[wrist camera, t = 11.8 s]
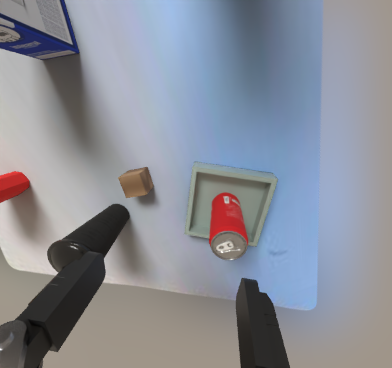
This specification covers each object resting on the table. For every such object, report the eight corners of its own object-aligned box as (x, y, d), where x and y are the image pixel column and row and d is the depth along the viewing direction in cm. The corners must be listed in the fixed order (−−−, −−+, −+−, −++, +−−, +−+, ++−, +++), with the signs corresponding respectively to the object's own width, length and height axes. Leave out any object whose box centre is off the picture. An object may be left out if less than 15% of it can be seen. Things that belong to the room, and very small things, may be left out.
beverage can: (243, 209, 35) (255, 255, 24) (218, 217, 36) (218, 265, 25) (233, 186, 33) (240, 224, 22) (207, 196, 35) (202, 237, 24)
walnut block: (128, 170, 35) (118, 177, 32) (147, 166, 34) (139, 173, 31) (135, 189, 37) (126, 198, 33) (153, 185, 36) (146, 194, 32)
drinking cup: (125, 193, 37) (34, 276, 19) (141, 223, 40) (75, 323, 21) (95, 202, 39) (-15, 287, 20) (112, 231, 41) (28, 329, 23)
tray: (194, 161, 33) (192, 166, 30) (272, 173, 32) (278, 179, 29) (186, 225, 38) (184, 234, 36) (253, 236, 38) (256, 246, 35)
